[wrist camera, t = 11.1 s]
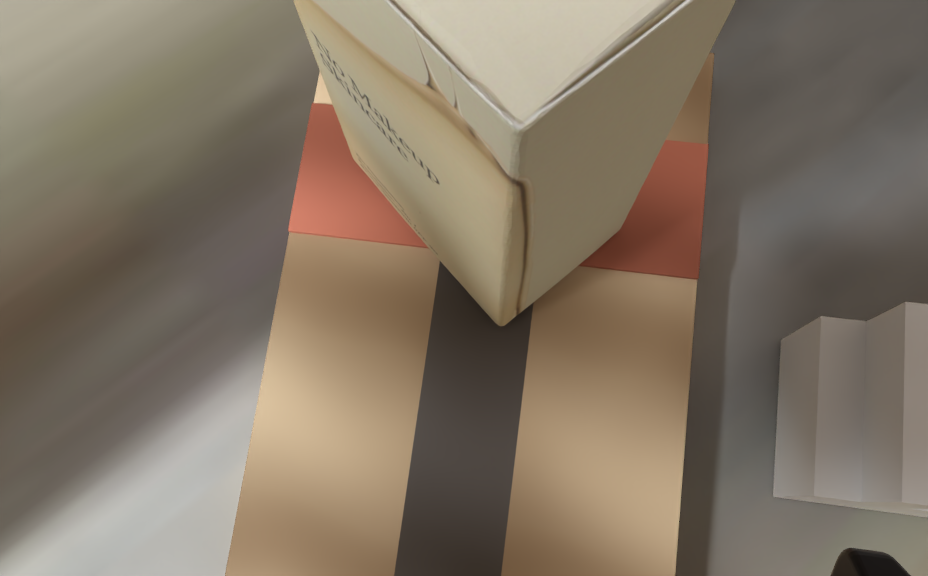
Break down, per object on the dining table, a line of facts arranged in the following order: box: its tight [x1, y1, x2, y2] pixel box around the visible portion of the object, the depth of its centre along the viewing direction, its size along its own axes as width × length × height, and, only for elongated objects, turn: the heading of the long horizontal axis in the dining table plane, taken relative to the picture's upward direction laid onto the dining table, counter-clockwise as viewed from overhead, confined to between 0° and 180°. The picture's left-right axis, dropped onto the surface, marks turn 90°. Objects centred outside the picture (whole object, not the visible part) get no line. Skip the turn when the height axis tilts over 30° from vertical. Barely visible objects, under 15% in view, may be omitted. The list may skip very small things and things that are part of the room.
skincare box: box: [293, 0, 736, 326], centre depth 17 cm, size 6×4×12 cm
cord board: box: [225, 53, 714, 576], centre depth 22 cm, size 17×10×1 cm, turn 172°
